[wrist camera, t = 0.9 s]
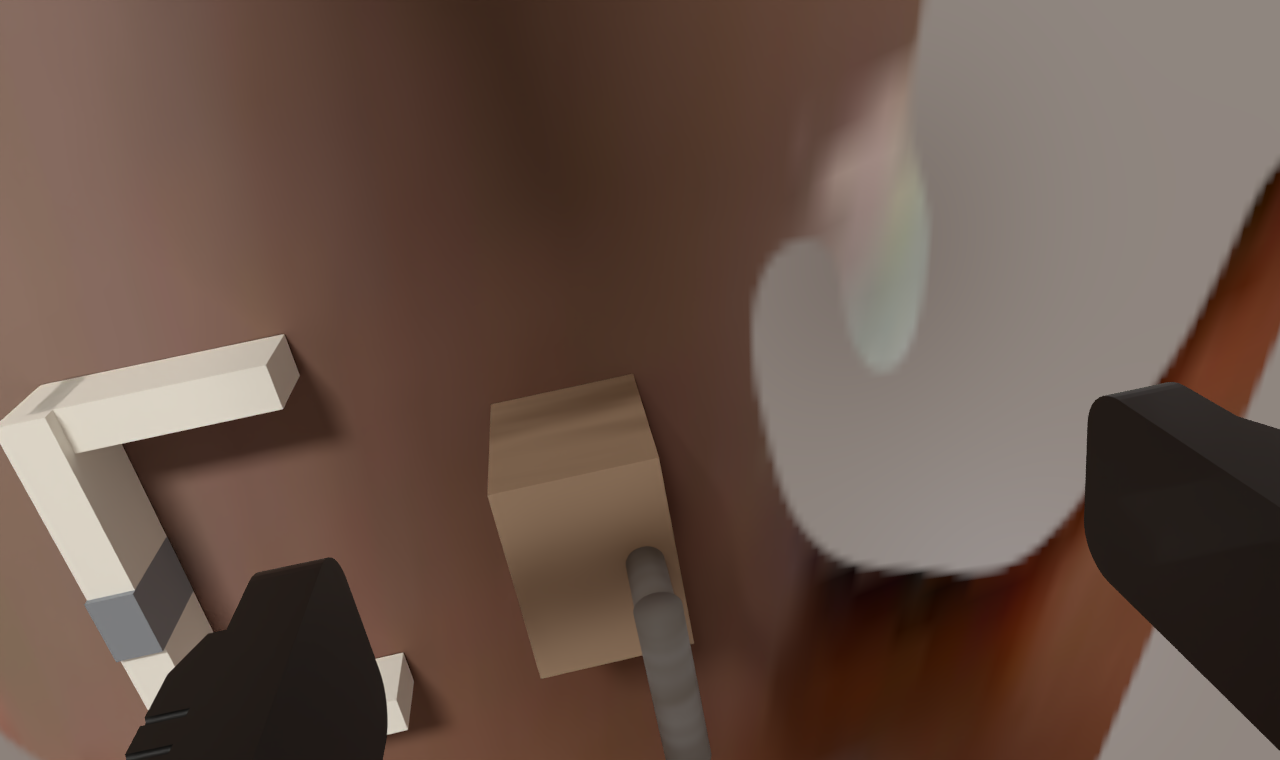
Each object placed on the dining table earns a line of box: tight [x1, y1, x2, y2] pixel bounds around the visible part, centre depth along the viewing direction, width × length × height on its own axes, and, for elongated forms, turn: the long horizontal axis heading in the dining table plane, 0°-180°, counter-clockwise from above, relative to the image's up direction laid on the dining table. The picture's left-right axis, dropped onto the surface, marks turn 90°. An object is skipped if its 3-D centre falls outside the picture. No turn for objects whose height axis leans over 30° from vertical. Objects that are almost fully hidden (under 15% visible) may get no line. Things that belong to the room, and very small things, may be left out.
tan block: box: [487, 374, 711, 760], centre depth 27 cm, size 7×5×12 cm
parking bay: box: [0, 334, 414, 735], centre depth 31 cm, size 15×8×3 cm, turn 10°
